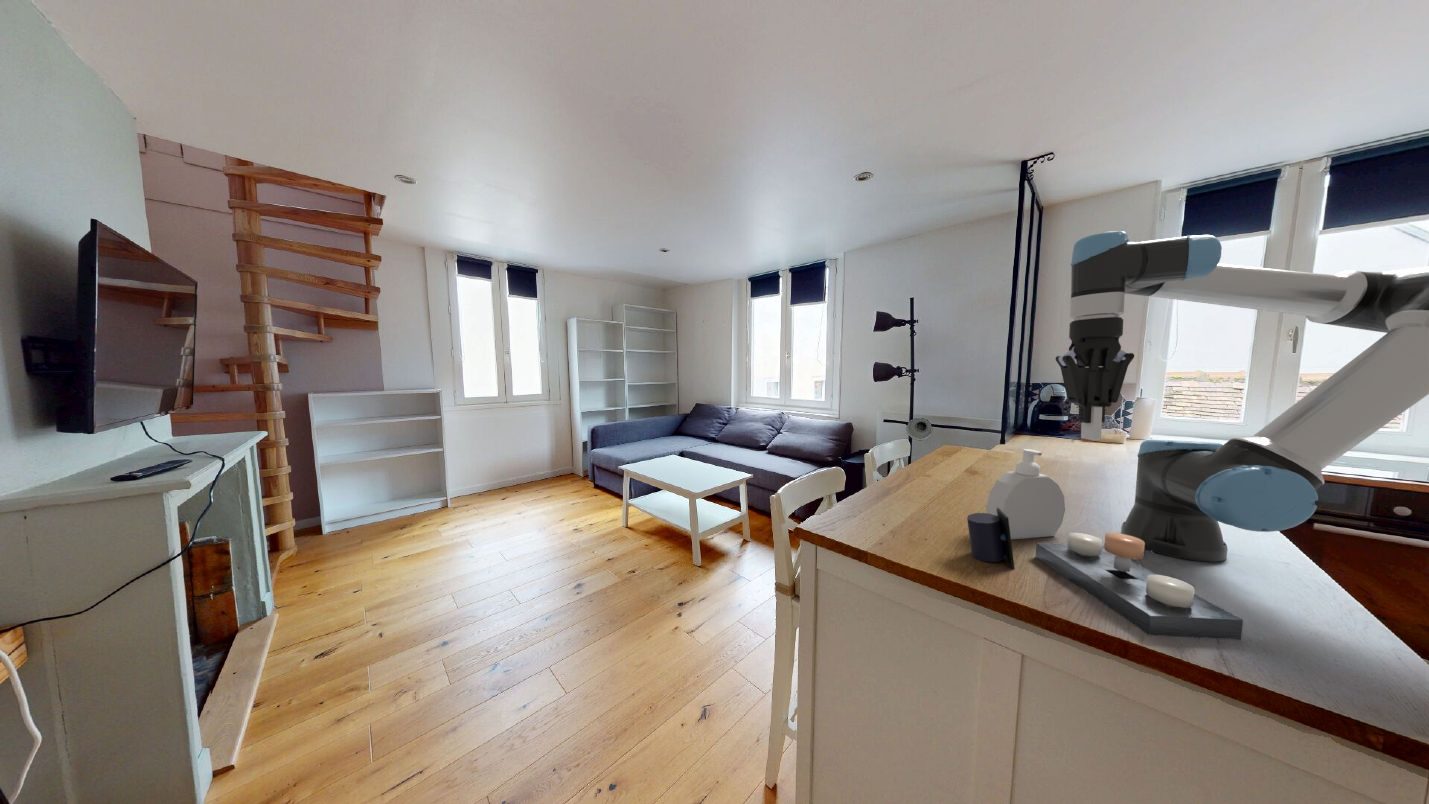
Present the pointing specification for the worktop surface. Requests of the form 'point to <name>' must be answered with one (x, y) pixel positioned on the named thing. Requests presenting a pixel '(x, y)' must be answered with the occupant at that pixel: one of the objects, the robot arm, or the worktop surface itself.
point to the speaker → (990, 537)
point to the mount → (1138, 596)
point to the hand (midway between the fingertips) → (1090, 439)
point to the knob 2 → (1170, 591)
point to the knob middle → (1124, 549)
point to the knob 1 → (1085, 544)
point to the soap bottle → (1028, 500)
